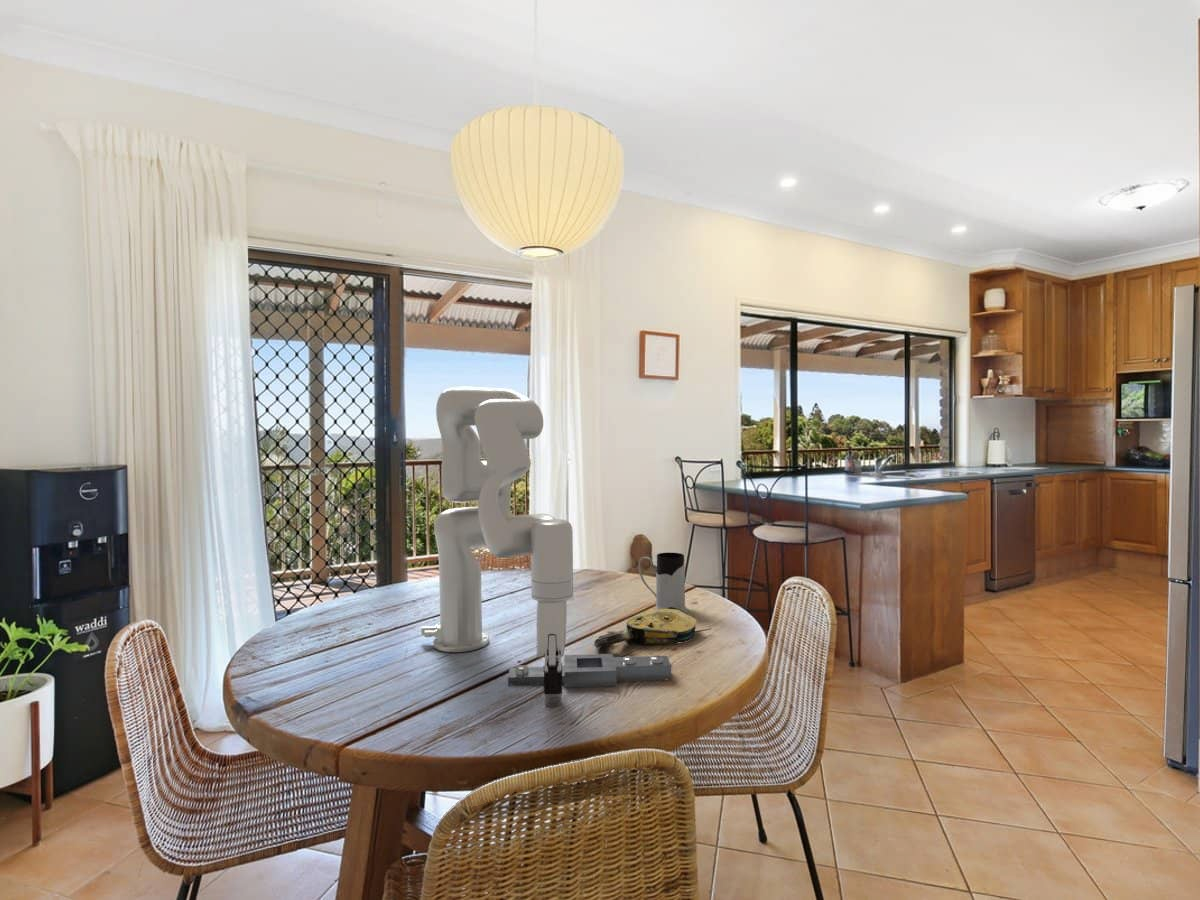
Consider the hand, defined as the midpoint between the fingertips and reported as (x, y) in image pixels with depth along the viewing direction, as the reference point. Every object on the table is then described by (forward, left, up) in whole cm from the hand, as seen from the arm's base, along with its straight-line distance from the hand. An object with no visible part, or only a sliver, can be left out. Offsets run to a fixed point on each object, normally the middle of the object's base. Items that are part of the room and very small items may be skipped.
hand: (553, 688), depth 111 cm
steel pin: (0, 0, -3) cm, 3 cm away
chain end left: (+1, +11, -3) cm, 11 cm away
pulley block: (+22, +33, -3) cm, 39 cm away
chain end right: (+12, +11, -3) cm, 17 cm away
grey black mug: (+29, +58, -3) cm, 65 cm away
